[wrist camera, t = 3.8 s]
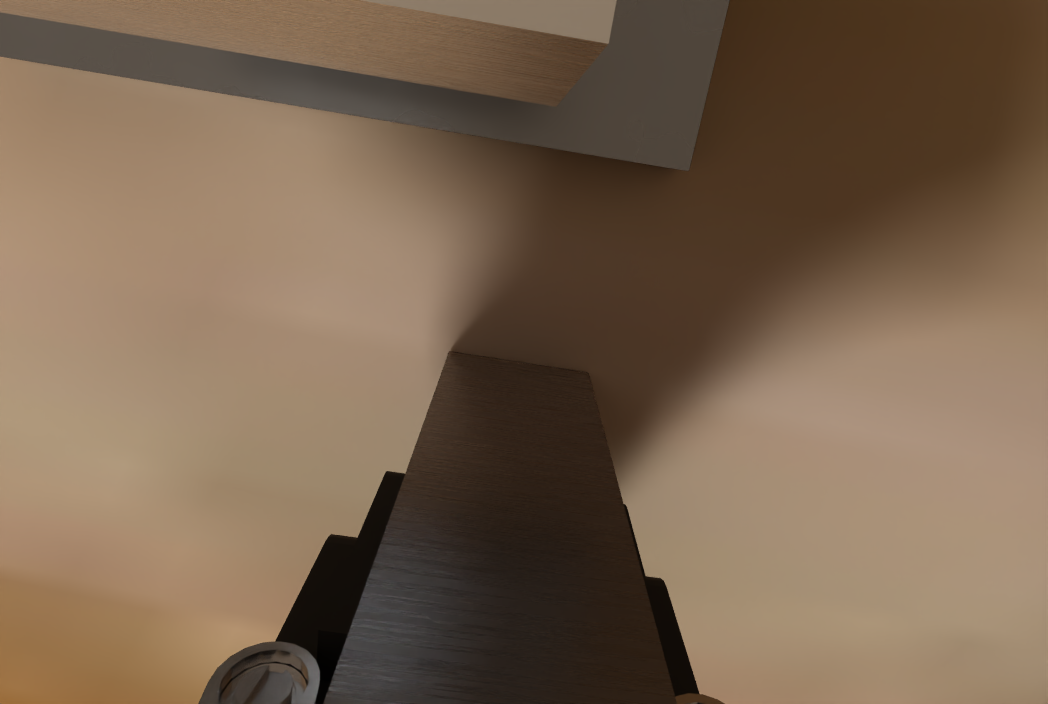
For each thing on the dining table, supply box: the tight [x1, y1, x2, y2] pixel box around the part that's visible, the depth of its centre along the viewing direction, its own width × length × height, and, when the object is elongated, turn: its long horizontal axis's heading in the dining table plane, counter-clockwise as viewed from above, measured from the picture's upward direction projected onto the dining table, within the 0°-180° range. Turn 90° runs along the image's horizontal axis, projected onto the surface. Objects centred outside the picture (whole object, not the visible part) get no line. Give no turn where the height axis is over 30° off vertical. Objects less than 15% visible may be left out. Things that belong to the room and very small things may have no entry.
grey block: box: [323, 351, 677, 704], centre depth 10 cm, size 6×3×10 cm, turn 171°
